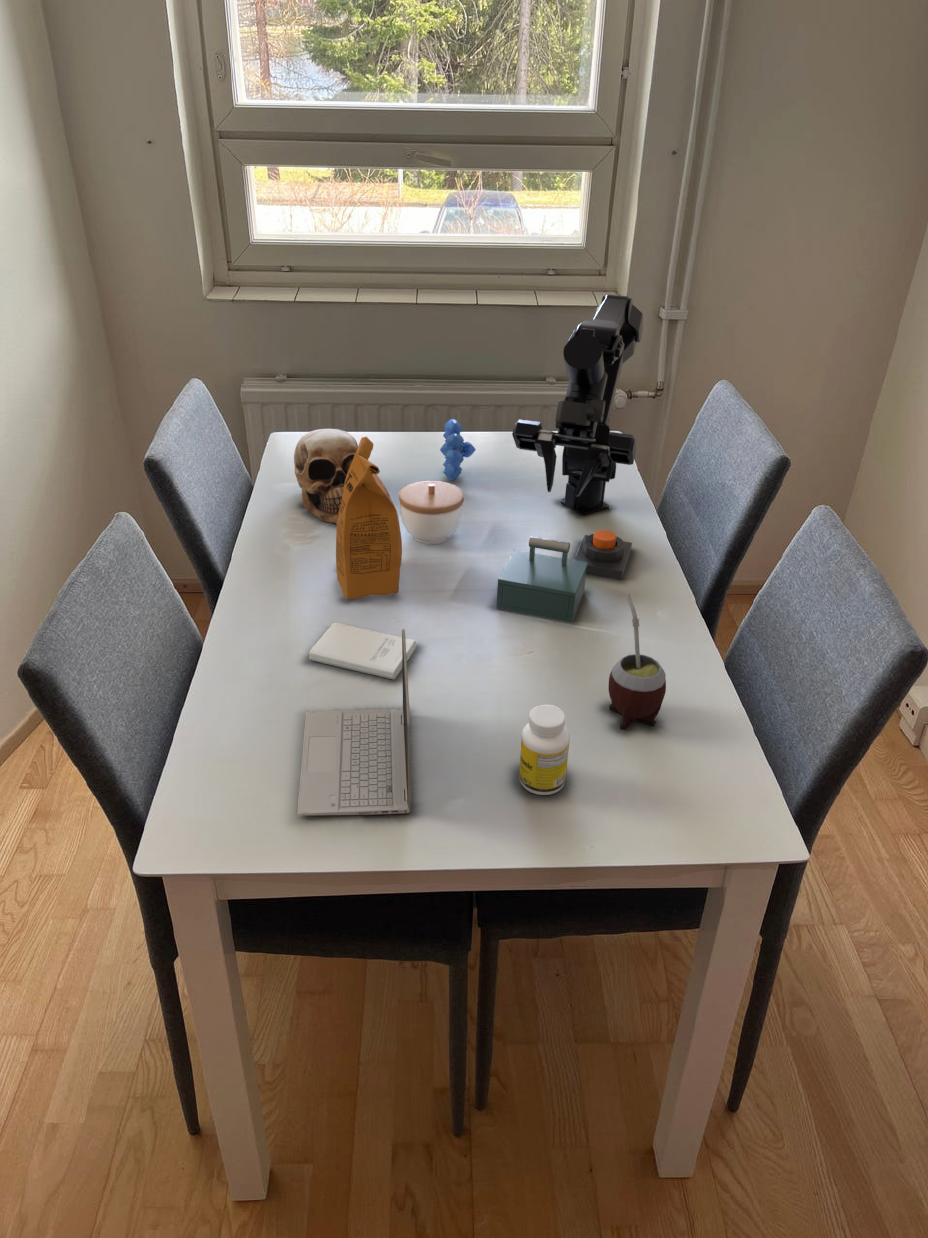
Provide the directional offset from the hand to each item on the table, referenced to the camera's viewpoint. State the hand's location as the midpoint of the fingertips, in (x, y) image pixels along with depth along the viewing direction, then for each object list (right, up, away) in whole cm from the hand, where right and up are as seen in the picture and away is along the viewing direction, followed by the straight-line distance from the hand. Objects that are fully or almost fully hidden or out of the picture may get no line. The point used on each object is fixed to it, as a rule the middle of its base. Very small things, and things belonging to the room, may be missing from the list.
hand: (562, 493), depth 144 cm
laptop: (-28, -36, -33) cm, 56 cm away
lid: (-3, -13, -4) cm, 13 cm away
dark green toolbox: (-4, -16, -1) cm, 17 cm away
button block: (+7, -10, +9) cm, 15 cm away
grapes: (-16, +7, +34) cm, 39 cm away
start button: (+7, -7, +7) cm, 13 cm away
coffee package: (-30, -13, +2) cm, 33 cm away
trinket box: (-21, -5, +15) cm, 26 cm away
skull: (-38, +2, +25) cm, 46 cm away
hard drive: (-29, -24, -14) cm, 40 cm away
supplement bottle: (-6, -38, -35) cm, 52 cm away
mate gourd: (+6, -32, -24) cm, 40 cm away
